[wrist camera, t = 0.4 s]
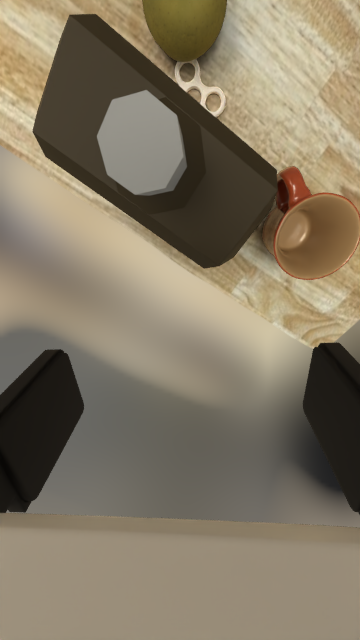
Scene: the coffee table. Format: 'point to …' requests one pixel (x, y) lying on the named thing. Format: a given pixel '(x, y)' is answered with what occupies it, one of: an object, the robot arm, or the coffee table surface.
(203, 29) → the apple
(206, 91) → the fidget spinner
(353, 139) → the coffee table surface
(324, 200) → the mug
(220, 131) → the bottle
